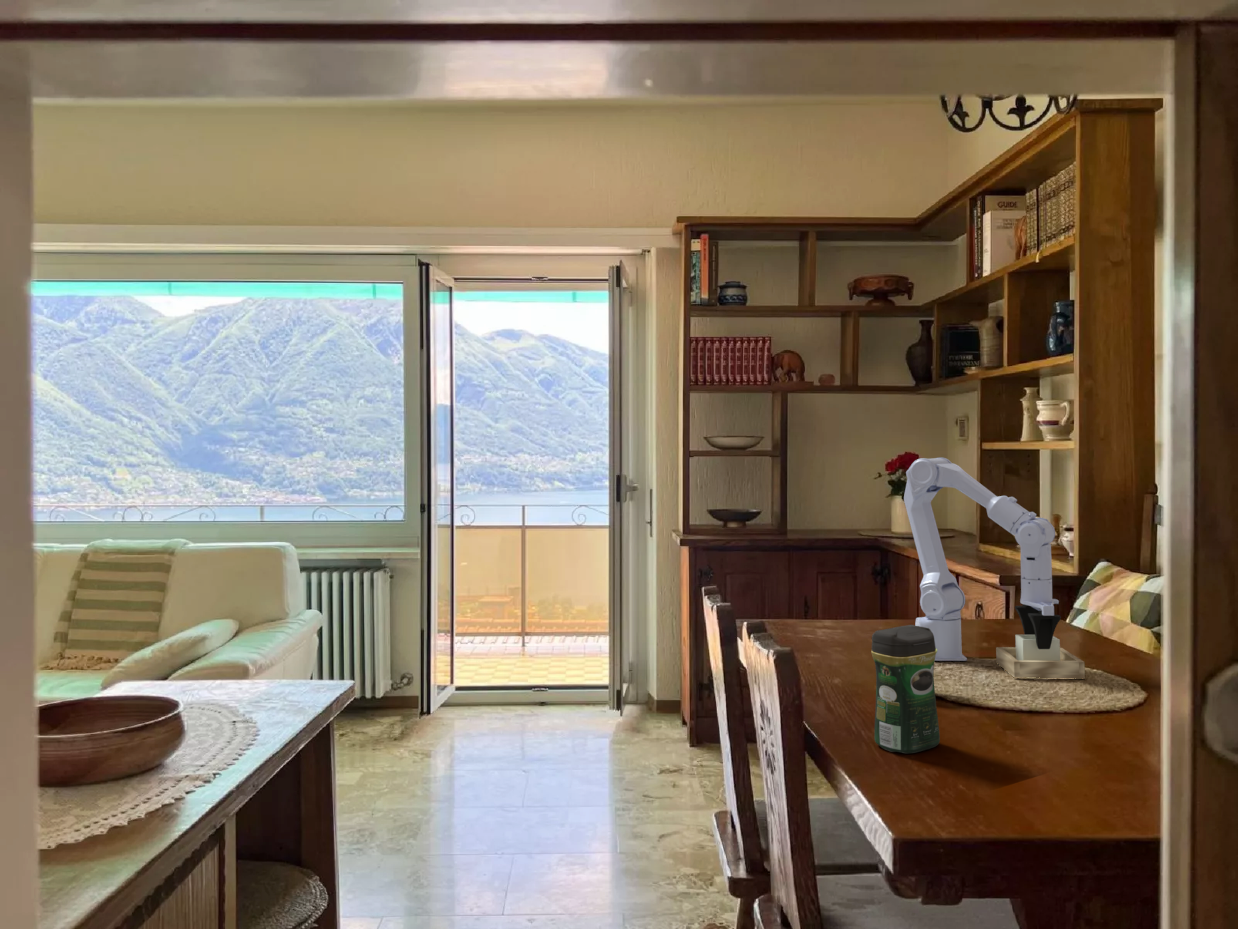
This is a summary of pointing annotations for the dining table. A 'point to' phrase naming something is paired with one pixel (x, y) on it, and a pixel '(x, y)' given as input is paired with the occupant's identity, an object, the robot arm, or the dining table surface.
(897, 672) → the coffee jar
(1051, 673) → the wooden tray
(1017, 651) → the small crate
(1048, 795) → the dining table surface
